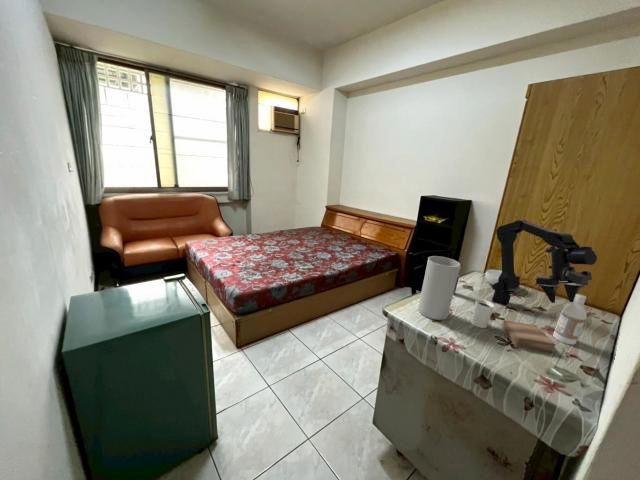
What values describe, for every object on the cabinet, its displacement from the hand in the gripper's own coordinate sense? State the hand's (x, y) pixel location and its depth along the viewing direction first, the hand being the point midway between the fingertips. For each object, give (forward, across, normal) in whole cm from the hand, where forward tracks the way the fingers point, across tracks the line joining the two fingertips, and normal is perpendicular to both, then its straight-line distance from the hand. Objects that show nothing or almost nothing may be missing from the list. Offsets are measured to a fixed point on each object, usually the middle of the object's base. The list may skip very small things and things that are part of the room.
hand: (562, 302), depth 105 cm
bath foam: (+15, +1, +1) cm, 15 cm away
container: (+2, -21, +39) cm, 45 cm away
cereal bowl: (0, +17, +46) cm, 49 cm away
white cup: (+11, -27, +13) cm, 32 cm away
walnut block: (+15, -16, +2) cm, 22 cm away
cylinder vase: (+8, -43, +22) cm, 49 cm away
